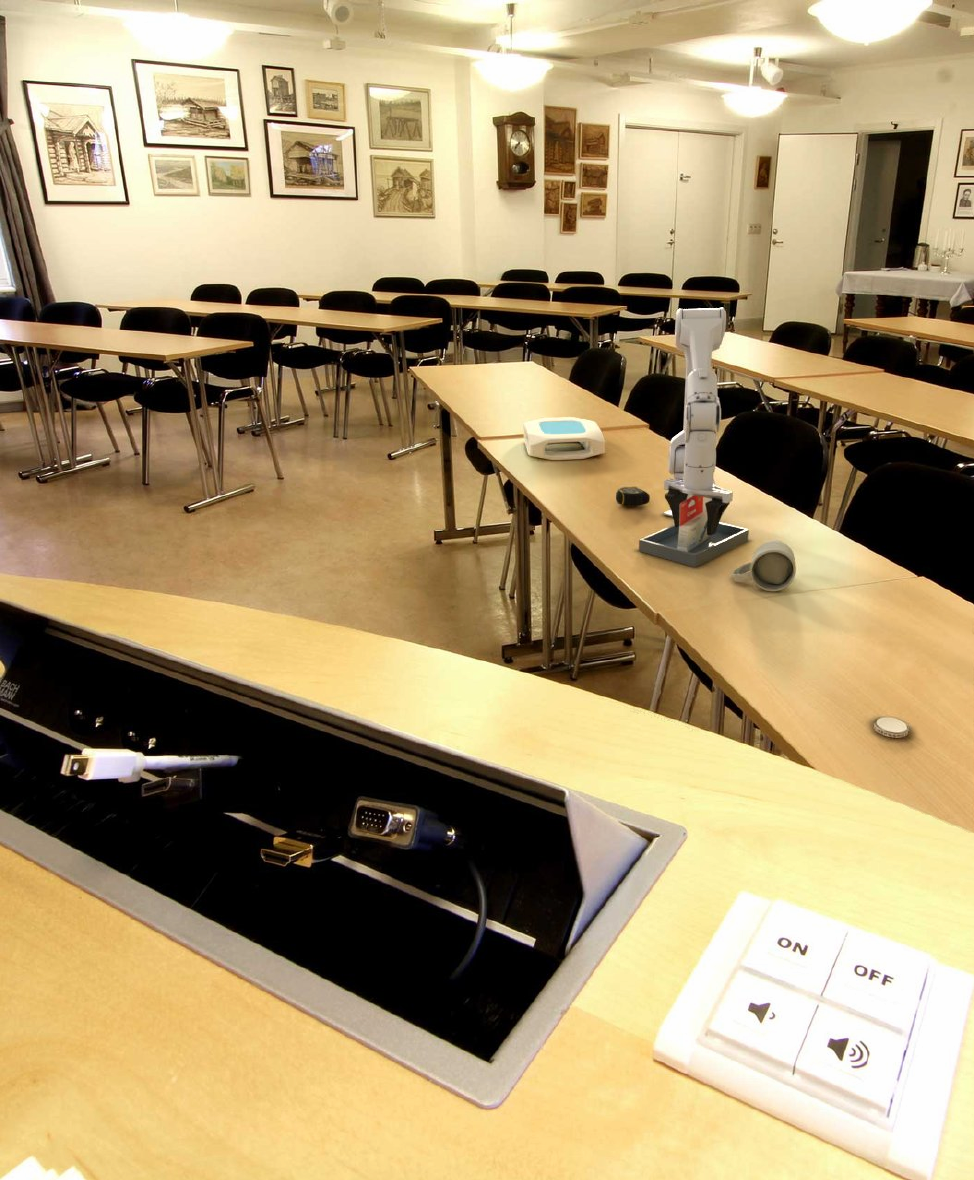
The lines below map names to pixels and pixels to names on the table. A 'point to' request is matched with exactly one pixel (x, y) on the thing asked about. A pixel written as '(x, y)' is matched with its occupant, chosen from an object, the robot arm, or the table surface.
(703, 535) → the ink cartridge box
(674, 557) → the tray
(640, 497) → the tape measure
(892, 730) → the bottle cap
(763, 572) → the ceramic mug
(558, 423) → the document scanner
